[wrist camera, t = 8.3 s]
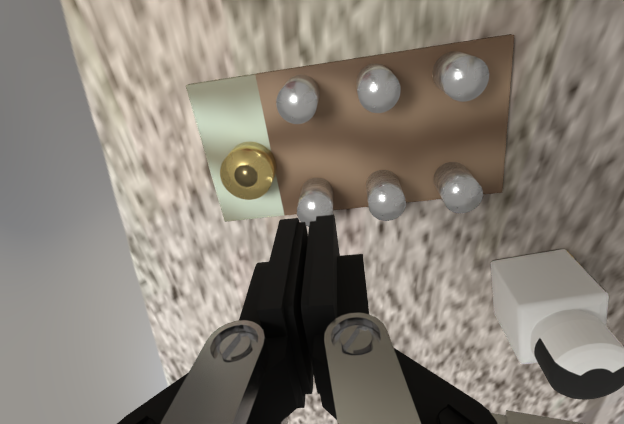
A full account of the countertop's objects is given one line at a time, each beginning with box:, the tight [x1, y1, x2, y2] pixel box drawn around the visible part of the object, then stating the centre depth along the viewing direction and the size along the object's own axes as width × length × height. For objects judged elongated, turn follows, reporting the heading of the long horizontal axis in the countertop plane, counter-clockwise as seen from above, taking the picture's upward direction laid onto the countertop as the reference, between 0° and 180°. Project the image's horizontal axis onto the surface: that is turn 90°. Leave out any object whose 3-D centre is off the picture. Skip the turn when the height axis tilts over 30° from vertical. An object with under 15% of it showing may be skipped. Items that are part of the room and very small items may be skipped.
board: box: [186, 34, 514, 222], centre depth 34 cm, size 13×26×1 cm, turn 99°
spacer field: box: [276, 51, 489, 227], centre depth 31 cm, size 12×15×4 cm
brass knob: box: [220, 142, 277, 200], centre depth 34 cm, size 4×4×2 cm
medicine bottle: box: [491, 249, 624, 399], centre depth 34 cm, size 7×7×12 cm
